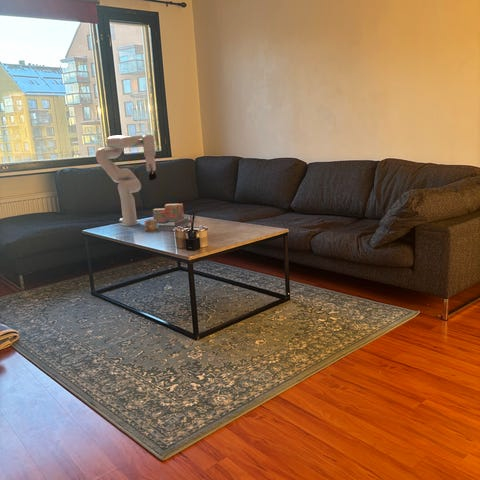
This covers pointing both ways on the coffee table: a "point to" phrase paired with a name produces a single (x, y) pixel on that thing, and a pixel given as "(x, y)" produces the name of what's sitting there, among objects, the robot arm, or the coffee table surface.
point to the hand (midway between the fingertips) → (153, 179)
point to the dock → (173, 224)
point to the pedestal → (151, 225)
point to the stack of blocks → (169, 213)
